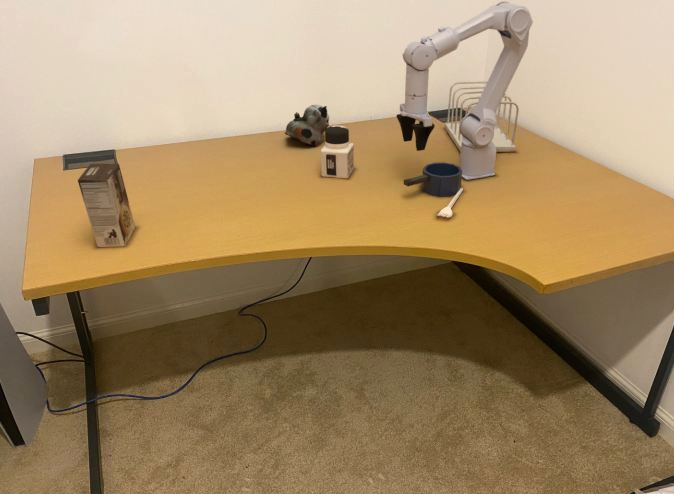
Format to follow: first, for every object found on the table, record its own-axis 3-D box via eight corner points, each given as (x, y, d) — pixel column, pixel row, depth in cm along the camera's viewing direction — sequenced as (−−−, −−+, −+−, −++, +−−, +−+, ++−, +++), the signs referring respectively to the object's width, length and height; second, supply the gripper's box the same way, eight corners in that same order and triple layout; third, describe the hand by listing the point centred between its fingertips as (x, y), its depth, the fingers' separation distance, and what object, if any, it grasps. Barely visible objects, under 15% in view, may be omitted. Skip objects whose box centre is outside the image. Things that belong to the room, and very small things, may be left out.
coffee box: (108, 228, 134) (90, 163, 125) (136, 227, 135) (120, 162, 126) (96, 247, 126) (75, 179, 118) (125, 246, 127) (107, 178, 118)
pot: (443, 178, 160) (444, 159, 157) (467, 190, 153) (469, 171, 150) (393, 192, 151) (393, 173, 148) (417, 206, 145) (418, 186, 141)
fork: (467, 191, 152) (468, 185, 151) (446, 223, 137) (447, 216, 136) (455, 189, 153) (456, 183, 152) (433, 221, 138) (434, 214, 137)
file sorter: (515, 152, 177) (523, 101, 168) (460, 154, 175) (465, 102, 167) (493, 126, 198) (499, 80, 189) (444, 128, 196) (447, 81, 188)
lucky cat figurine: (286, 134, 190) (302, 94, 187) (319, 149, 192) (336, 110, 188) (279, 135, 176) (297, 92, 172) (315, 152, 177) (333, 109, 174)
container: (347, 179, 159) (347, 133, 152) (321, 176, 160) (319, 131, 153) (354, 168, 165) (353, 124, 158) (328, 166, 167) (326, 122, 159)
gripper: (390, 88, 149) (388, 138, 157) (415, 102, 138) (413, 156, 146) (414, 85, 152) (411, 135, 159) (440, 99, 141) (437, 152, 148)
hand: (413, 145), depth 153 cm, fingers open, 7 cm apart
